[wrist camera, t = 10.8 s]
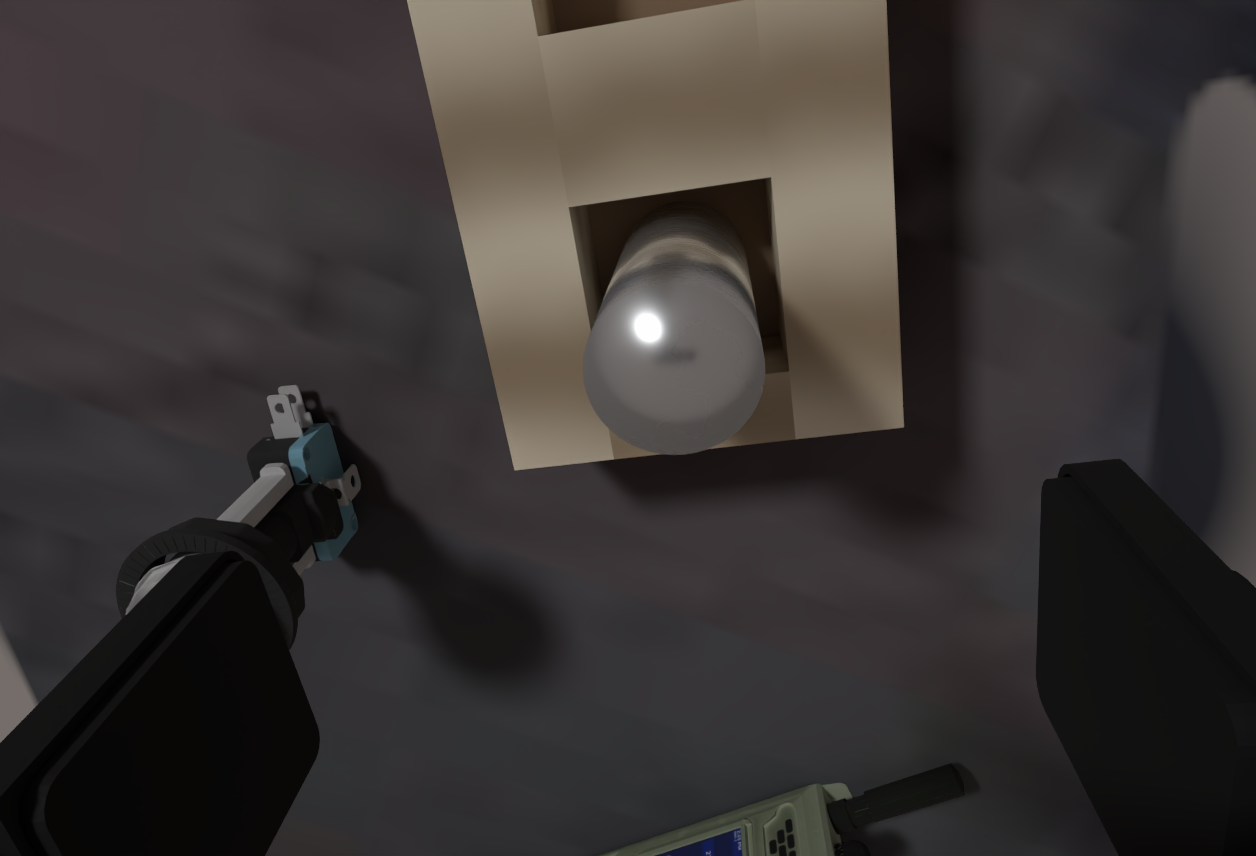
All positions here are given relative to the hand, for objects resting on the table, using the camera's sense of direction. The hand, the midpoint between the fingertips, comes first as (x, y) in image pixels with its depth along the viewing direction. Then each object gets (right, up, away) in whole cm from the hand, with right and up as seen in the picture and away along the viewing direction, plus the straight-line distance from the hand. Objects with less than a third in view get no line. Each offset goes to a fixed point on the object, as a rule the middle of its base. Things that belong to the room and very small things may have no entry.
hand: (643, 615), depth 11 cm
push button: (-12, +1, +24) cm, 27 cm away
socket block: (+1, +13, +17) cm, 22 cm away
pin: (+2, +8, +18) cm, 20 cm away
